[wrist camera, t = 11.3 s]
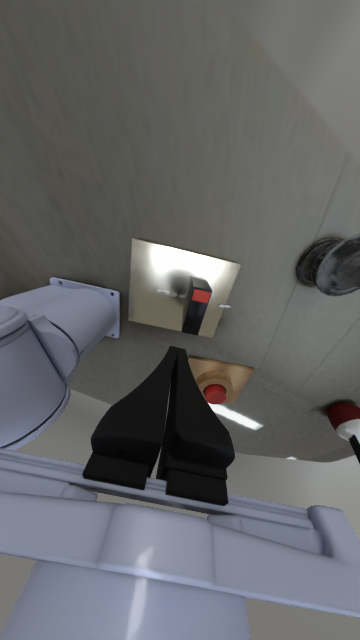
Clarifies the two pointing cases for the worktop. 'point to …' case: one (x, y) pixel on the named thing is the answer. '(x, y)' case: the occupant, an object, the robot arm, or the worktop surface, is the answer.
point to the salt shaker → (332, 266)
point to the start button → (215, 394)
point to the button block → (220, 376)
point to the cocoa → (347, 424)
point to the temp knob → (196, 306)
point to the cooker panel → (175, 285)
